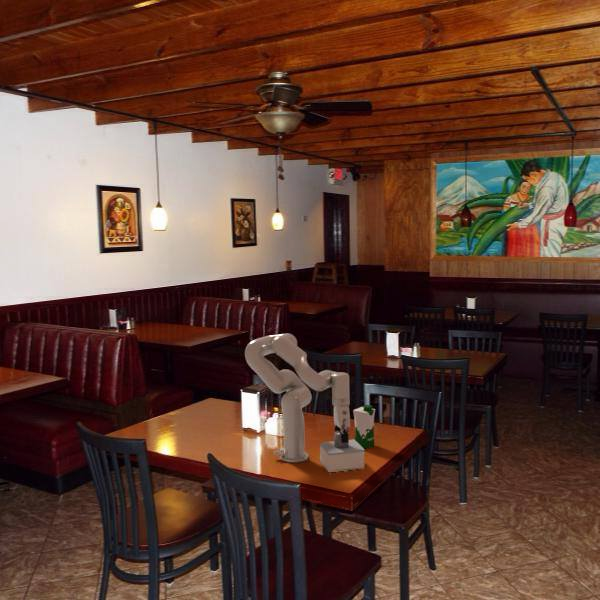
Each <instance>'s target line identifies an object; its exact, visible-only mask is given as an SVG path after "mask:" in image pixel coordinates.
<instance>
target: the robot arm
mask: <svg viewBox="0 0 600 600" xmlns="http://www.w3.org/2000/svg"><path fill="white" fill-rule="evenodd" d="M270 354H276V355H277V356H279V357H280V358H281V359H282V360H284V361H285V362H286V363H288V365H290V366H291V367H293V368H294V371H295V372H296V373H295V372H294V371H292V370H290V369H284V368H283V369H281V370H279V369H278V368H277V367H276V366H275V364H273V363H272V362H271V361H270V360H268V358H266V357H265V356H267V355H270ZM307 356H308V354H307V352H306V351H304V350H303V349H302V348H300V347H299V346H298V340H297V338H296V336H294V335H293V334H292V333H288V332H287V333H281V334H272V335H265V336H262V337H258V338H256V339H253V340H252V341H250V342H249V343H247V346H246V347H245V350H244V357H245V361H246V363H247V365H248V366H249V367H250V368H251V370H253V372H255V374H257V375H258V376H259V378H260V379H261V380H262V382H263V383H265V385H266V386H267V387H268V388H269V389H270V391H271V392H273V393H274V394H278V395H279V394H282V393H284V392H285V393H284V394H283V396H282V397H281V399H280V400H281V401H280V406H281V411H282V412H281V413H282V422H283V425H282V426H283V447H282V449H280V450H278V449H277V450H273V454H274V456H277V457H280V459H281V460H282V461H283V462H287V463H293V464H294V463H302V462H305V461H307V460H308V459H309V454H308V453H307V452H306V448H305V445H306V443H305V442H306V441H305V439H306V438H305V416H304V414H303V410H302V409H303V408H304V407H306V406H308V405H309V404H310V403H311V401H312V397H313V396H312V393H311V391H310V389H309V388H311V389H312V390H314V391H316V392H323V391H325V390H327V389H329V388H331V389H332V390H331V393H332V394H331V397H332V398H331V399H332V402H331V403H332V406H333V422H334V432H336V431H341V432H342V434H341V442H342V443H347V442H349V440H350V437H349V432H350V430H349V429H350V428H351V414H350V407H349V406H350V404H351V403H350V375H349V373H347V372H342V371H340V372H337V371H333V370H330V369H325V370H322V371H320V372H318V371H315V370H314V369H313V368H312V367H311V366H310V365H309V363H308V360H307V358H308V357H307ZM307 386H308V387H309V388H308V387H307Z"/></svg>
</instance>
